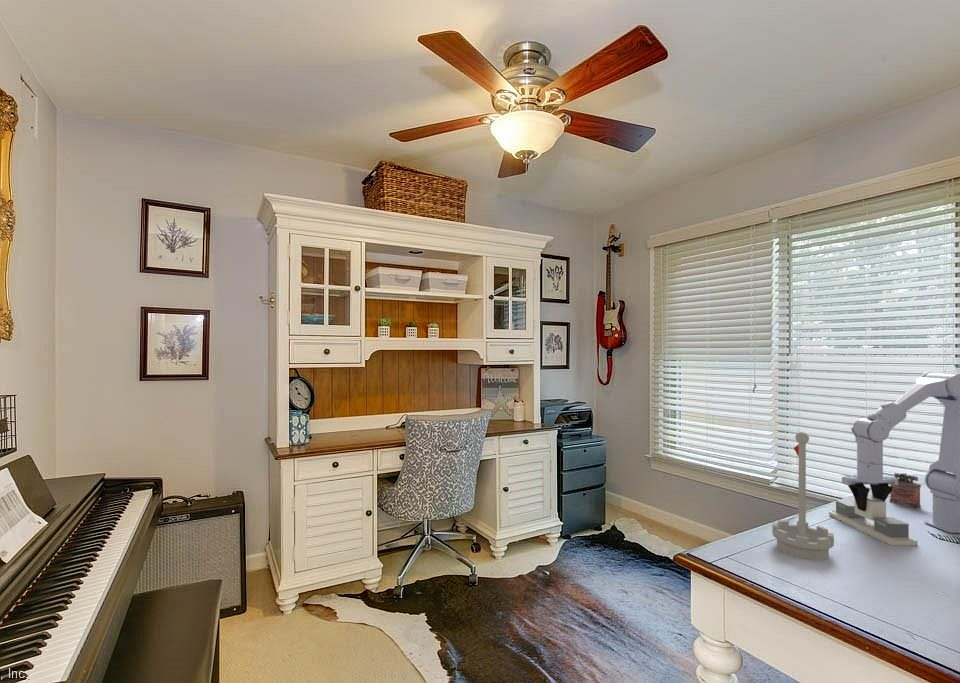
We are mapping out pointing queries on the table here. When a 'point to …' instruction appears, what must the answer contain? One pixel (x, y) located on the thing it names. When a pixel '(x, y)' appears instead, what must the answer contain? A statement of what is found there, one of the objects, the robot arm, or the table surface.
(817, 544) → the flag stand
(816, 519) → the table surface
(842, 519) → the board
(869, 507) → the module block
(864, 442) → the robot arm
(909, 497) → the lighter
